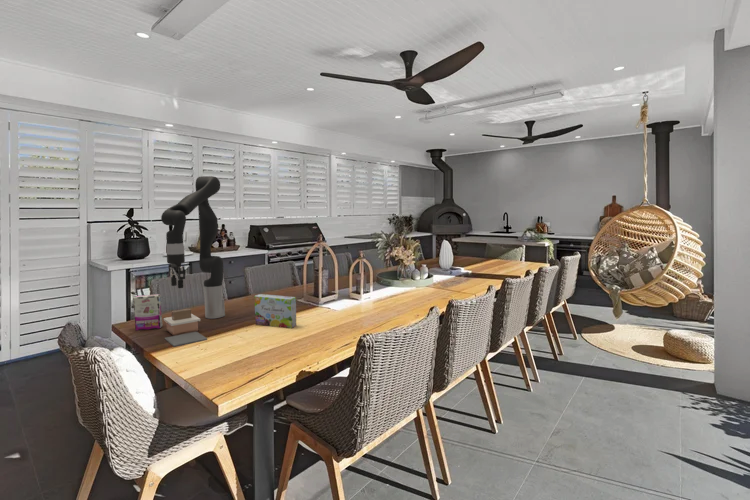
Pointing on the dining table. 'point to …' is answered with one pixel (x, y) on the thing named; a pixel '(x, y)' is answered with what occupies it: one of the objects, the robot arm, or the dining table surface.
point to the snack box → (275, 310)
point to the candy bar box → (147, 312)
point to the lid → (181, 317)
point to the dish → (182, 328)
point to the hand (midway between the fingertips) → (177, 286)
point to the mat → (185, 339)
